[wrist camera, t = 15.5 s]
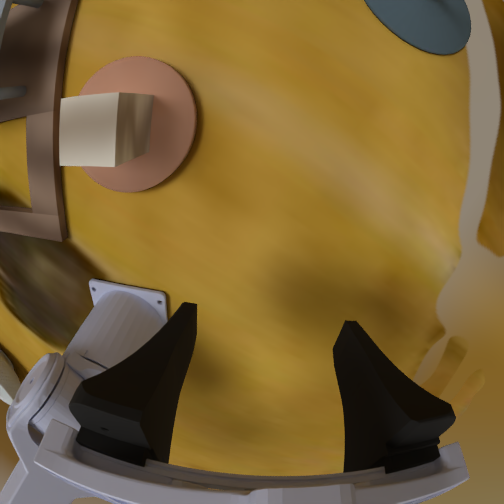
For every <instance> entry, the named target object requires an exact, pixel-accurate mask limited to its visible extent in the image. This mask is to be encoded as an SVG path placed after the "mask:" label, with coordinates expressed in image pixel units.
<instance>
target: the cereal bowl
mask: <svg viewBox="0 0 504 504" xmlns="http://www.w3.org/2000/svg"><path fill="white" fill-rule="evenodd" d="M20 386H21V384H20V381H19V378H18V376H17V374H16V373H15V371H14V367H13V364H12V363H11V361H10V360H9V358H8V357H7V356H6V354H5V353H4V352H3V351H2V350H1V349H0V399H1V400H3V401H4V402H6V403H7V404H9V405H11V404H12V402H13V400H14V399H15V396H16V394H17V392H18V390H19V388H20Z"/></svg>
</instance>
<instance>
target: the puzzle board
mask: <svg viewBox="0 0 504 504" xmlns="http://www.w3.org/2000/svg"><path fill="white" fill-rule="evenodd" d="M77 3H78V0H44V1H43V3H42V5H41V6H40V7H39V8H34V7H29V6H24V5H17V6H16V7H14V8H12V9H10V11H9V15H8V18H7V22H6V26H5V30H4V34H3V39H2V43H1V48H0V88H3V87H13V86H26V94H25V95H24V96H23V97H17V98H9V99H3V100H0V122H3V121H7V120H12V119H16V118H20V117H25V116H27V120H26V144H27V166H28V179H29V189H30V197H31V205H32V208H21V207H9V206H0V231H3V232H9V233H15V234H20V235H26V236H32V237H38V238H43V239H49V240H55V241H61V242H62V241H64V240H65V239H66V238H67V237H68V234H67V227H66V220H65V213H64V204H63V194H62V182H61V166H60V159H59V127H60V106H61V96H62V85H63V76H64V68H65V60H66V54H67V48H68V42H69V37H70V32H71V27H72V23H73V19H74V15H75V11H76V7H77Z"/></svg>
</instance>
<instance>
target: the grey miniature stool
mask: <svg viewBox="0 0 504 504" xmlns="http://www.w3.org/2000/svg"><path fill="white" fill-rule="evenodd" d="M43 1H44V0H0V48H1V43H2V39H3V34H4V30H5V26H6V22H7V18H8V15H9V11H10V8H11V5H12V3H14V4H19V5H24V6H29V7H34V8H39V7H40V6H41V5H42V3H43ZM25 94H26V86H13V87H3V88H0V100H3V99H9V98H17V97H23V96H24V95H25Z"/></svg>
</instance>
